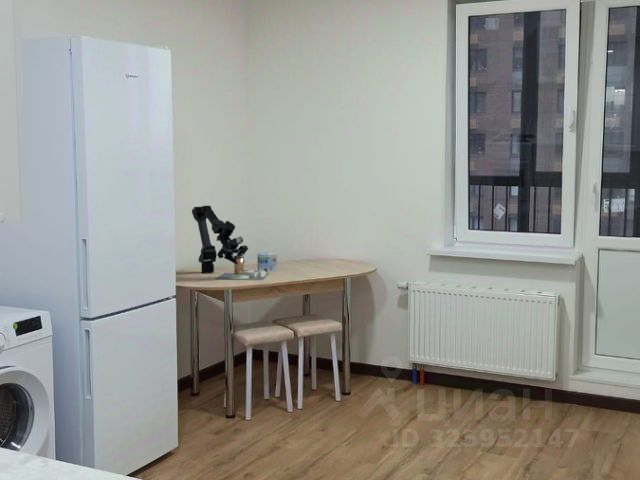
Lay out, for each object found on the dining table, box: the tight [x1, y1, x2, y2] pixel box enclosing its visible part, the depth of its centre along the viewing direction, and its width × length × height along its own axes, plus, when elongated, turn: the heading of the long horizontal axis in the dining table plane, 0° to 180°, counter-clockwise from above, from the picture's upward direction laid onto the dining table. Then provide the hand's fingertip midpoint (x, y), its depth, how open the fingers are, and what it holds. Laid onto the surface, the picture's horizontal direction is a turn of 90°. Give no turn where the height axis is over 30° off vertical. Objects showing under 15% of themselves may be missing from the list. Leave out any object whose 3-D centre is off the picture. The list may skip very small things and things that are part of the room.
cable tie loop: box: [244, 269, 267, 277], centre depth 430 cm, size 11×9×3 cm
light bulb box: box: [257, 252, 278, 273], centre depth 448 cm, size 11×7×11 cm, turn 105°
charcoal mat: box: [215, 272, 270, 281], centre depth 428 cm, size 26×24×1 cm
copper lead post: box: [233, 254, 245, 275], centre depth 421 cm, size 5×5×10 cm
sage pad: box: [229, 275, 249, 281], centre depth 422 cm, size 11×11×1 cm
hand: (240, 263), depth 420 cm, fingers closed on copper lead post, 5 cm apart
